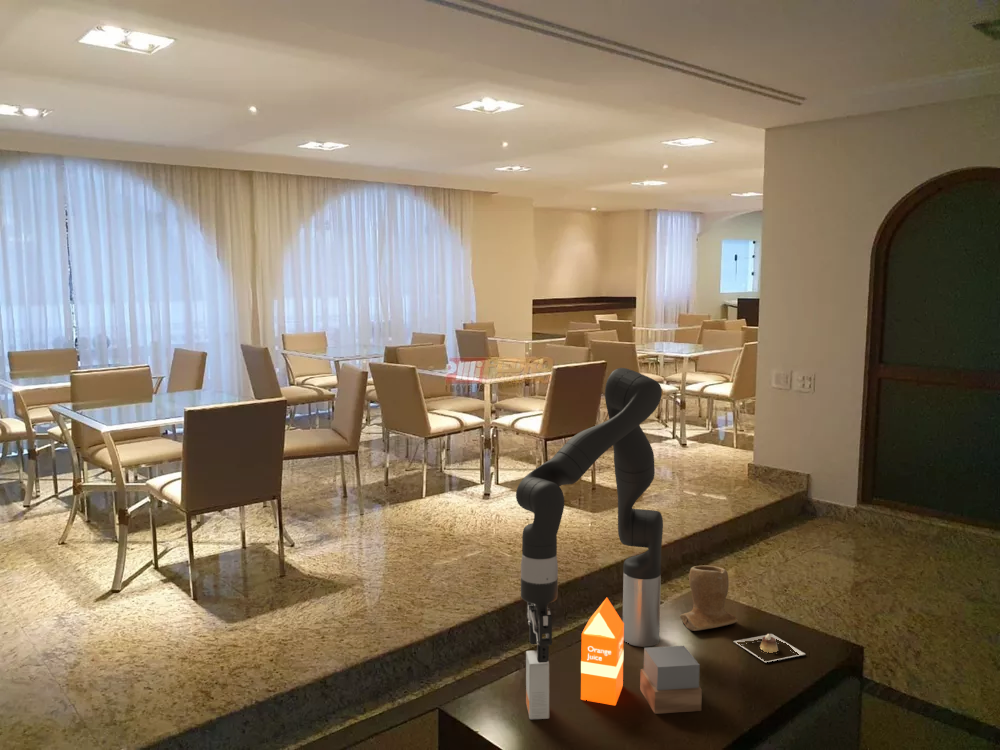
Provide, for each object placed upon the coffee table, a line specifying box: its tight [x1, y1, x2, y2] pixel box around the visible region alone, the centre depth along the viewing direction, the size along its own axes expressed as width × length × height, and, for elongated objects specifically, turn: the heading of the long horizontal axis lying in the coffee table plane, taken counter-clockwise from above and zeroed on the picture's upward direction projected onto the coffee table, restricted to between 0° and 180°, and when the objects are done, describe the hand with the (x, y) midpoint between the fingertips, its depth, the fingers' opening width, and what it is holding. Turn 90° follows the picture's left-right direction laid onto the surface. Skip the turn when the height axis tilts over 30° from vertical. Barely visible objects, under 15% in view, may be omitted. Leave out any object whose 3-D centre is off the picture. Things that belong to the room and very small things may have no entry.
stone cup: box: [679, 565, 738, 632], centre depth 201 cm, size 15×12×15 cm
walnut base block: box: [639, 668, 703, 715], centre depth 163 cm, size 10×10×5 cm
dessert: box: [733, 633, 806, 664], centre depth 187 cm, size 12×12×5 cm
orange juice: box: [580, 597, 625, 706], centre depth 165 cm, size 8×9×20 cm
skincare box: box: [525, 650, 550, 720], centre depth 158 cm, size 6×4×12 cm
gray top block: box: [643, 645, 701, 690], centre depth 163 cm, size 9×9×5 cm
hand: (538, 652), depth 157 cm, fingers open, 8 cm apart
